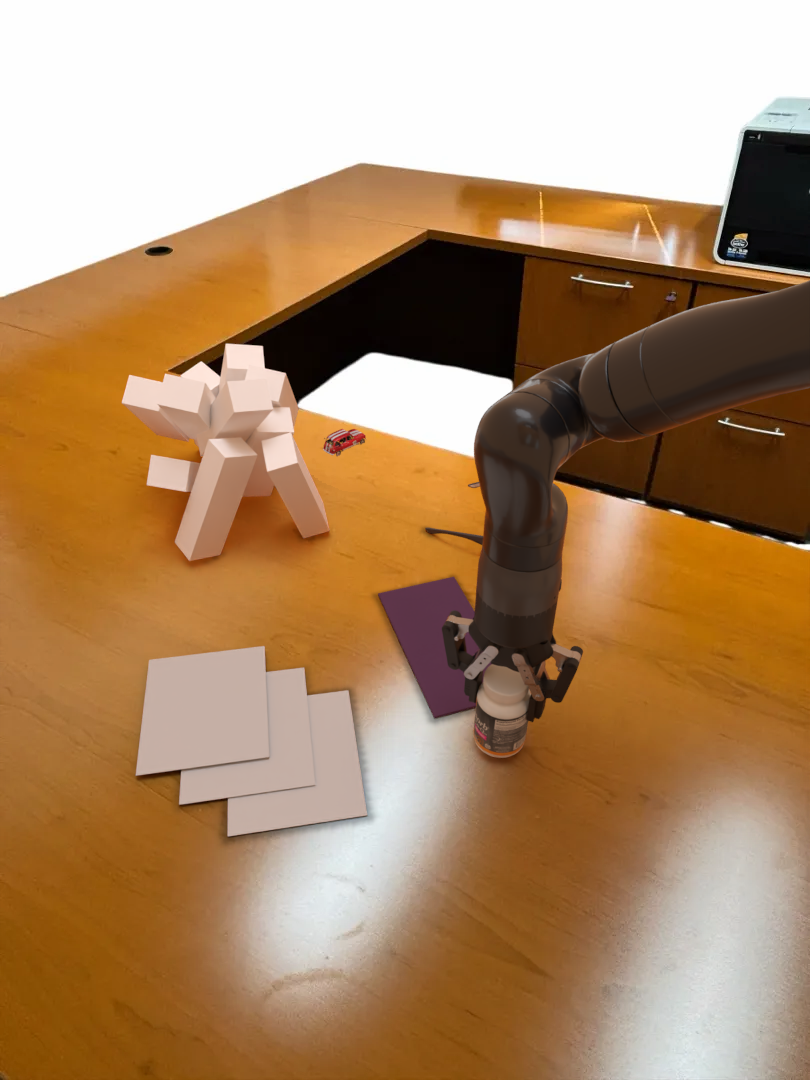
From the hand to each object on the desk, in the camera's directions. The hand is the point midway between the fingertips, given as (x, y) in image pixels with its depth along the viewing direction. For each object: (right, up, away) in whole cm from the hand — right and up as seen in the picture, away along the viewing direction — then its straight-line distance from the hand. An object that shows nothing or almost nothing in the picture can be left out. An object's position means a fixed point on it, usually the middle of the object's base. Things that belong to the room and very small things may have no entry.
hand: (503, 705), depth 81 cm
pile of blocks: (-36, +22, +39) cm, 58 cm away
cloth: (-5, +5, +16) cm, 18 cm away
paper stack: (-28, -4, +5) cm, 29 cm away
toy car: (-21, +33, +53) cm, 66 cm away
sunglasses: (+3, +20, +36) cm, 41 cm away
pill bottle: (0, -5, +4) cm, 6 cm away
